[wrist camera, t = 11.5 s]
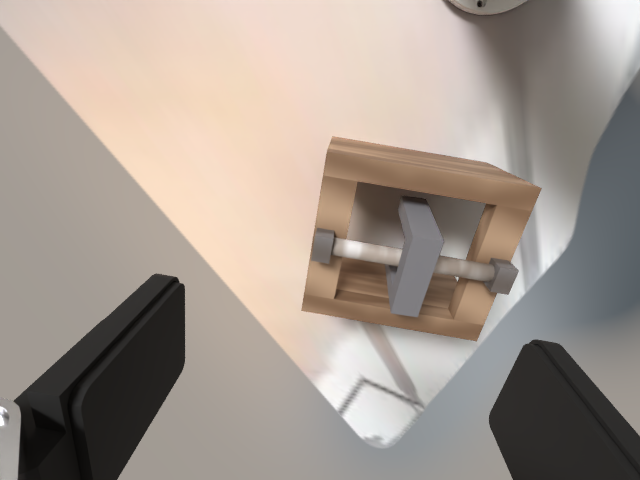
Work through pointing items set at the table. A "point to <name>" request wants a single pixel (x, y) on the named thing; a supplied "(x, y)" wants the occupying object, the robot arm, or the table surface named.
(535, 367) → the robot arm
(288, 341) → the table surface
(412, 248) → the grey piece
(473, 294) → the stand
